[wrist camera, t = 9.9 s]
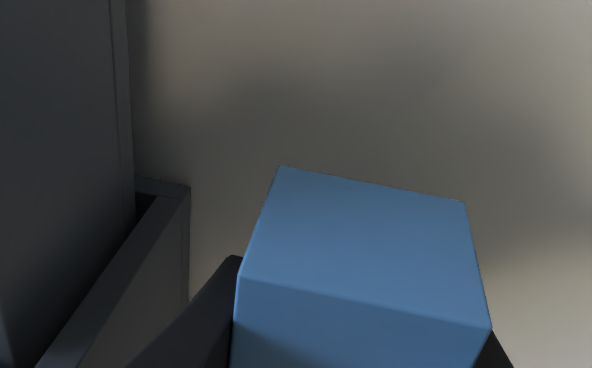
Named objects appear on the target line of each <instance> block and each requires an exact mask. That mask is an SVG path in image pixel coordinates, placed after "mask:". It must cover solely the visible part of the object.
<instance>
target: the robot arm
mask: <svg viewBox="0 0 592 368" xmlns="http://www.w3.org/2000/svg"><path fill="white" fill-rule="evenodd" d="M243 258H244V257H241V256H236V255H230V256H228V257H226V258H225V260H224V261H223V262H222V264H221V265H220V266H219V268H218V269H217V270H216V272H215V273H214V274H213V275H212V276H211V278H210V279H209V280H208V281H207V282H206V284H205V285H204V286H203V287H202V288H201V289H200V290H199V292H198V293H197V294H196V295H195V296H194V297H193V298H192V299H191V300H190V301H189V302H188V304H187V305H186V306H185V307H184V308H183V309H182V310H181V311H180V312H179V313H178V314H177V315H176V316H175V317H174V318H173V319H172V320H171V321H170V322H169V323H168V324H167V325H166V326H165V327H164V328H163V329H162V330H161V331H160V332H159V333H158V334H157V335H156V336H155V337H154V338H152V339H151V340H150V341H149V342H148V343H147V344H146V345H145V346H144V347H143V348H142V349H141V350H140V351H139V352H137V353H136V354H135V355H134V356H133V357H132V358H131V359H130V360H128V361H127V362H126V363H125V364H124V365H123V366H121V367H120V368H228V367H229V357H230V346H231V335H232V325H233V314H234V304H235V293H236V283H237V273H238V271H239V268H240V266H241V263H242V260H243ZM473 368H514V367H513V365H512V363H511V362H510V360H509V358H508V357H507V355H506V353H505V351H504V350H503V348H502V346H501V344H500V343H499V341H498V339H497V337H496V336H495V334H494V332H493V330H491V333H490V334H489V336H488V338H487V340H486V342H485V344H484V346H483V348H482V350H481V352H480V354H479V356H478V358H477V360H476V362H475V364H474V366H473Z"/></svg>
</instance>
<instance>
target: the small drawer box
mask: <svg viewBox="0 0 592 368" xmlns="http://www.w3.org/2000/svg"><path fill="white" fill-rule="evenodd" d="M134 186H135V206H136V227H135V228H134V230H133V231H132V232H131V234H130V235H129V237H128V238H127V239H126V241H125V242H124V244H123V245H122V246H121V248H120V249H119V250H118V252H117V253H116V255H115V256H114V257H113V259H112V260H111V262H110V263H109V264H108V266H107V267H106V269H105V270H104V271H103V273H102V274H101V276H100V277H99V278H98V280H97V281H96V283H95V284H94V285H93V287H92V288H91V290H90V291H89V292H88V294H87V295H86V296H85V298H84V299H83V301H82V302H81V303H80V305H79V306H78V308H77V309H76V310H75V312H74V313H73V315H72V316H71V317H70V319H69V320H68V322H67V323H66V324H65V326H64V327H63V329H62V330H61V331H60V333H59V334H58V336H57V337H56V338H55V340H54V341H53V342H52V344H51V345H50V347H49V348H48V349H47V351H46V352H45V354H44V355H43V356H42V358H41V359H40V361H39V362H38V363H37V365H36V366H35V368H120V367H121V366H123V365H124V364H125V363H126V362H127V361H128V360H130V359H131V358H132V357H133V356H134V355H135V354H136V353H137V352H139V351H140V350H141V349H142V348H143V347H144V346H145V345H146V344H147V343H148V342H149V341H150V340H151V339H152V338H154V337H155V336H156V335H157V334H158V333H159V332H160V331H161V330H162V329H163V328H164V327H165V326H166V325H167V324H168V323H169V322H170V321H171V320H172V319H173V318H174V317H175V316H176V315H177V314H178V313H179V312H180V311H181V310H182V309H183V308H184V307H185V306H186V305H187V304H188V287H189V243H190V200H191V188H190V187H188V186H183V185H178V184H173V183H168V182H163V181H159V180H154V179H149V178H144V177H139V176H134Z"/></svg>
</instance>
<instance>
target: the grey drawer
mask: <svg viewBox="0 0 592 368" xmlns="http://www.w3.org/2000/svg"><path fill="white" fill-rule="evenodd" d="M135 227H136V206H135V186H134V166H133V146H132V126H131V107H130V87H129V67H128V47H127V27H126V7H125V0H0V368H35V366H36V365H37V363H38V362H39V361H40V359H41V358H42V356H43V355H44V354H45V352H46V351H47V349H48V348H49V347H50V345H51V344H52V342H53V341H54V340H55V338H56V337H57V336H58V334H59V333H60V331H61V330H62V329H63V327H64V326H65V324H66V323H67V322H68V320H69V319H70V317H71V316H72V315H73V313H74V312H75V310H76V309H77V308H78V306H79V305H80V303H81V302H82V301H83V299H84V298H85V296H86V295H87V294H88V292H89V291H90V290H91V288H92V287H93V285H94V284H95V283H96V281H97V280H98V278H99V277H100V276H101V274H102V273H103V271H104V270H105V269H106V267H107V266H108V264H109V263H110V262H111V260H112V259H113V257H114V256H115V255H116V253H117V252H118V250H119V249H120V248H121V246H122V245H123V244H124V242H125V241H126V239H127V238H128V237H129V235H130V234H131V232H132V231H133V230H134V228H135Z"/></svg>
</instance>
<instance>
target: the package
mask: <svg viewBox="0 0 592 368" xmlns="http://www.w3.org/2000/svg"><path fill="white" fill-rule="evenodd" d="M491 330H492V323H491V318H490V314H489V309H488V305H487V300H486V296H485V291H484V287H483V282H482V278H481V273H480V269H479V264H478V260H477V255H476V251H475V246H474V242H473V238H472V233H471V229H470V224H469V220H468V215H467V211H466V206H465V203H464V202H462V201H458V200H453V199H448V198H443V197H438V196H433V195H428V194H422V193H417V192H412V191H407V190H402V189H397V188H392V187H387V186H382V185H377V184H372V183H367V182H362V181H357V180H352V179H347V178H342V177H337V176H332V175H327V174H322V173H317V172H311V171H306V170H301V169H296V168H291V167H286V166H279V167H278V168H277V170H276V173H275V176H274V178H273V181H272V184H271V186H270V189H269V191H268V194H267V197H266V199H265V202H264V205H263V207H262V210H261V213H260V215H259V218H258V221H257V223H256V226H255V229H254V231H253V234H252V236H251V239H250V242H249V244H248V247H247V250H246V252H245V255H244V258H243V260H242V263H241V266H240V268H239V271H238V273H237V283H236V293H235V304H234V314H233V325H232V335H231V346H230V357H229V367H228V368H473V366H474V364H475V362H476V360H477V358H478V356H479V354H480V352H481V350H482V348H483V346H484V344H485V342H486V340H487V338H488V336H489V334H490V333H491Z"/></svg>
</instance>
